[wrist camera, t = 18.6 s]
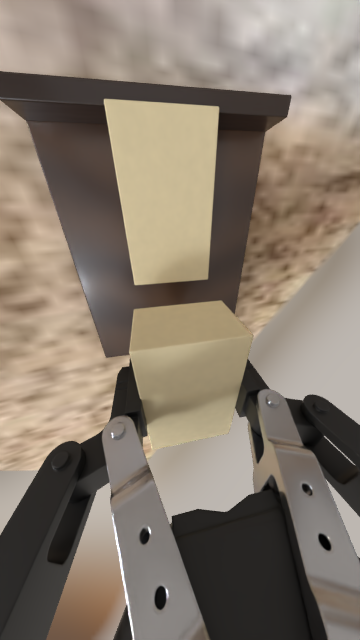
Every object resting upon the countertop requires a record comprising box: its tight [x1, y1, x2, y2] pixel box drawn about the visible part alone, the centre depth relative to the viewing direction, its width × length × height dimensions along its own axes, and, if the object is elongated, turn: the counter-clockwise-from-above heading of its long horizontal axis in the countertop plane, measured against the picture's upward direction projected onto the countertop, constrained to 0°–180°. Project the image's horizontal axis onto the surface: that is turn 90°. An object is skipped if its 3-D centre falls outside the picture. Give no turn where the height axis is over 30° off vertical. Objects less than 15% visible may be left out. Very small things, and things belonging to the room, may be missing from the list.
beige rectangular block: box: [104, 99, 219, 285], centre depth 11 cm, size 8×5×4 cm, turn 1°
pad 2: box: [129, 300, 253, 450], centre depth 10 cm, size 8×5×4 cm, turn 1°
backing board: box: [0, 71, 291, 358], centre depth 14 cm, size 18×14×3 cm
